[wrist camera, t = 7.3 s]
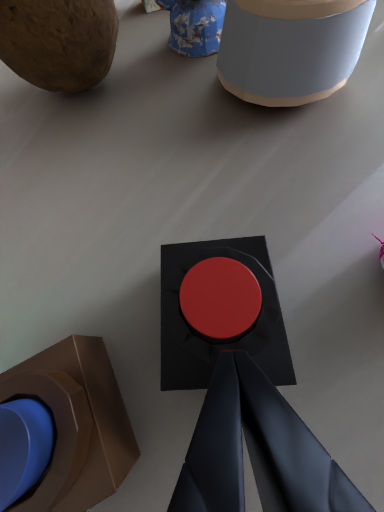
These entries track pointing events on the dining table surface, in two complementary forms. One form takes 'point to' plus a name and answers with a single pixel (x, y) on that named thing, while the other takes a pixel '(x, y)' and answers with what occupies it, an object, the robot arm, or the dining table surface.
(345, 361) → the dining table surface
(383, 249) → the stress ball
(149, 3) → the stack of blocks
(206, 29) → the lantern
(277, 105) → the desk lamp
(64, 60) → the bowl
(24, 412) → the blue button
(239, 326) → the light button
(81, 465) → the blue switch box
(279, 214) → the dining table surface
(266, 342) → the switch box
